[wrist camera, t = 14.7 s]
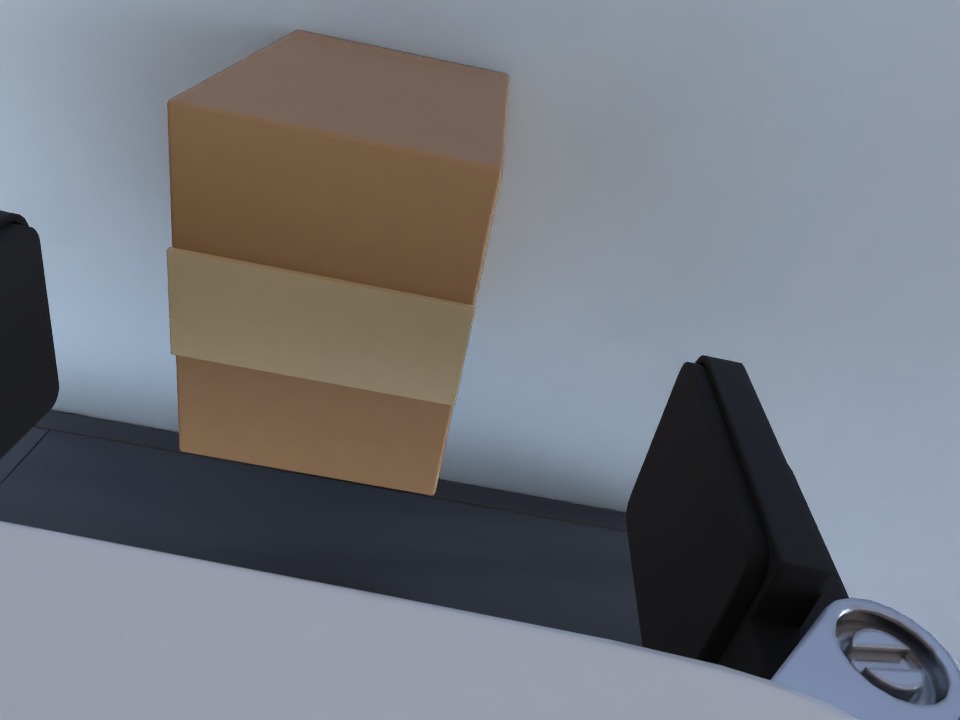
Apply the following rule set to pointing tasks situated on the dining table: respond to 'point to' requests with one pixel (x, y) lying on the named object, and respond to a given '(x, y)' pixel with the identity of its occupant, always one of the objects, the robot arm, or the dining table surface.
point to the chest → (328, 526)
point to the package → (330, 255)
